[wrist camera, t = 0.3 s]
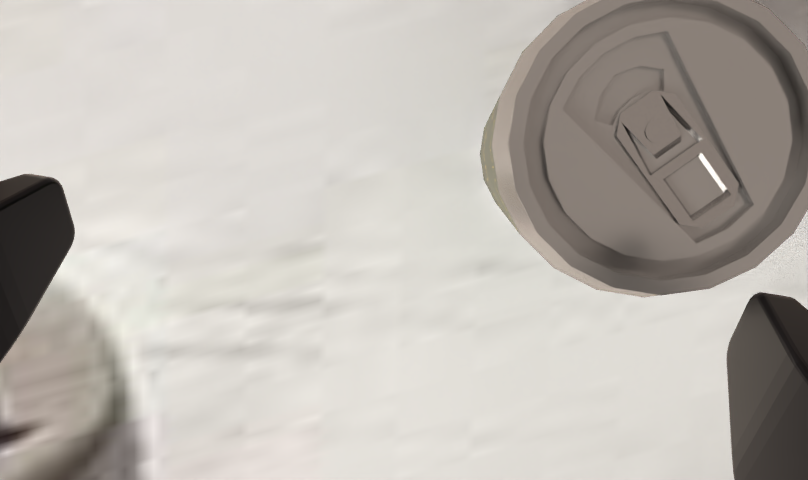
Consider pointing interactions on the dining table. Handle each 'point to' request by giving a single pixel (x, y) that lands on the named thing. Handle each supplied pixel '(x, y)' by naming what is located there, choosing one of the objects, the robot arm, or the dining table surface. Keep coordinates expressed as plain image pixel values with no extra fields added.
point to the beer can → (654, 142)
